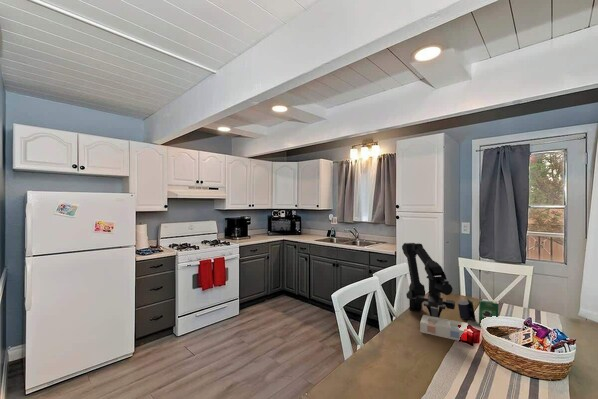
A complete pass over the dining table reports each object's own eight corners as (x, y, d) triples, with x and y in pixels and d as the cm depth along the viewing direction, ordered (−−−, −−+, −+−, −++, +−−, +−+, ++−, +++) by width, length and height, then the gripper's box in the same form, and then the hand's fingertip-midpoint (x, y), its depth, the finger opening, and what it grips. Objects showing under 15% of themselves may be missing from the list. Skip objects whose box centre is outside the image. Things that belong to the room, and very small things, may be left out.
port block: (420, 332, 138) (420, 321, 138) (423, 324, 147) (423, 314, 147) (467, 342, 128) (467, 331, 128) (467, 333, 137) (467, 322, 137)
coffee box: (496, 326, 143) (496, 301, 143) (498, 329, 140) (498, 303, 140) (478, 324, 146) (478, 299, 145) (480, 327, 143) (479, 301, 143)
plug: (431, 323, 148) (431, 308, 148) (432, 320, 151) (432, 306, 151) (437, 324, 147) (437, 309, 147) (438, 322, 149) (438, 307, 149)
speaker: (475, 316, 154) (472, 298, 154) (475, 321, 149) (473, 302, 149) (459, 315, 158) (457, 297, 158) (459, 320, 153) (457, 301, 153)
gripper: (413, 290, 147) (413, 319, 147) (453, 296, 137) (454, 328, 137) (416, 284, 156) (417, 312, 156) (454, 289, 146) (455, 319, 146)
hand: (434, 317), depth 149 cm, fingers closed on plug, 3 cm apart
